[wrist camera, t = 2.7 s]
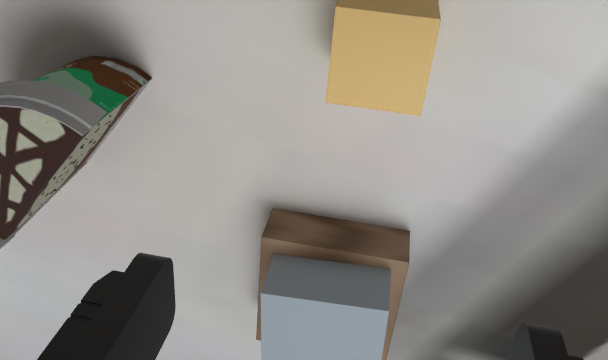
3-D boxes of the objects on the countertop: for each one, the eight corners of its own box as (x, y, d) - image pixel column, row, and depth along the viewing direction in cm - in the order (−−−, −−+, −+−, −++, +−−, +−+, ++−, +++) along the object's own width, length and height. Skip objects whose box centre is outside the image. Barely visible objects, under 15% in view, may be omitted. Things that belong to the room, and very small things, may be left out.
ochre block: (338, 64, 34) (325, 102, 29) (348, -20, 32) (335, 6, 27) (420, 75, 34) (420, 116, 29) (436, -9, 31) (440, 19, 26)
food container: (86, -5, 35) (-20, 44, 26) (164, 62, 36) (88, 128, 28) (8, 120, 41) (-99, 192, 32) (78, 174, 42) (-7, 256, 34)
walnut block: (267, 303, 46) (256, 339, 43) (274, 204, 41) (261, 237, 38) (387, 325, 45) (385, 364, 42) (409, 227, 40) (409, 262, 37)
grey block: (273, 336, 42) (261, 378, 39) (274, 253, 38) (260, 293, 35) (378, 352, 41) (376, 397, 38) (391, 269, 37) (388, 311, 34)
